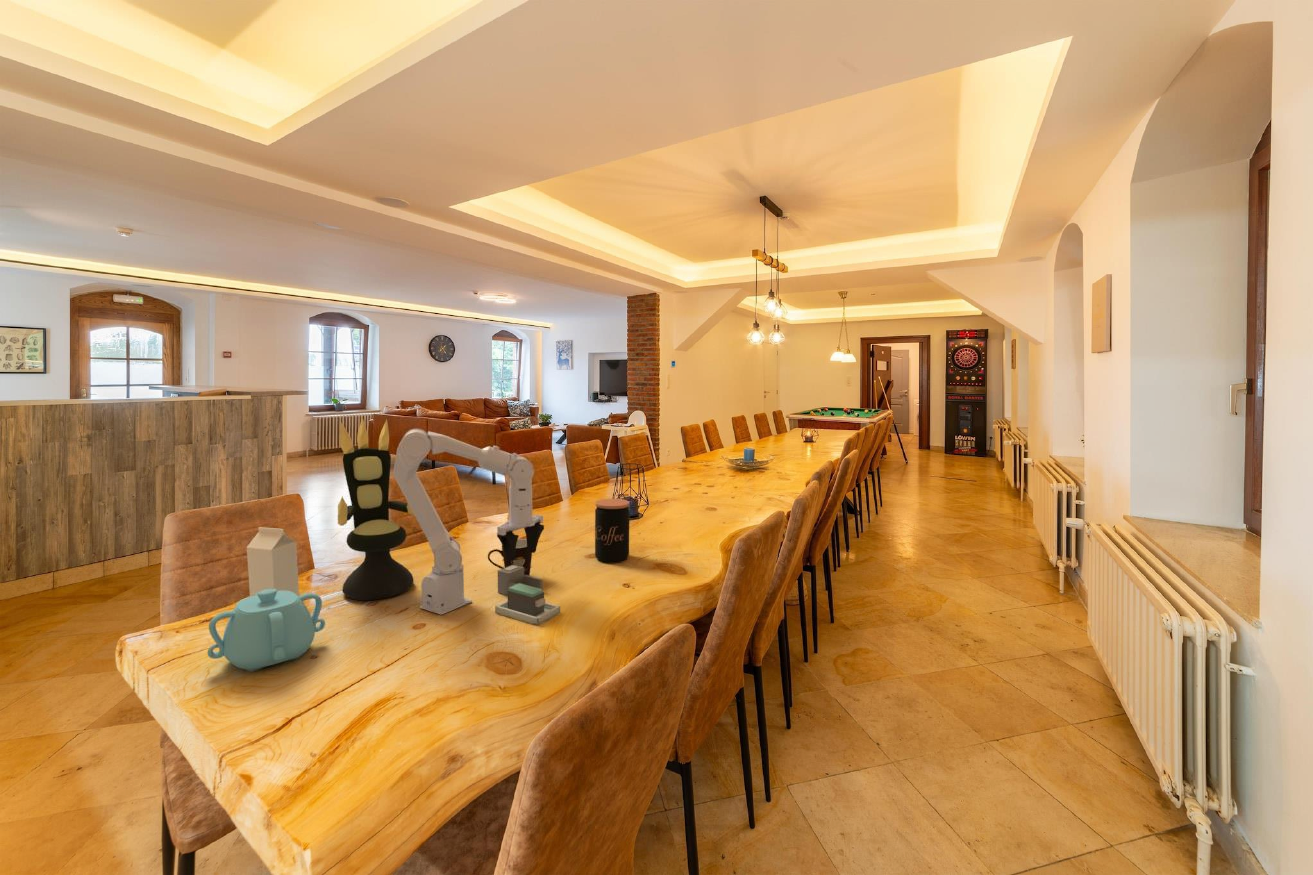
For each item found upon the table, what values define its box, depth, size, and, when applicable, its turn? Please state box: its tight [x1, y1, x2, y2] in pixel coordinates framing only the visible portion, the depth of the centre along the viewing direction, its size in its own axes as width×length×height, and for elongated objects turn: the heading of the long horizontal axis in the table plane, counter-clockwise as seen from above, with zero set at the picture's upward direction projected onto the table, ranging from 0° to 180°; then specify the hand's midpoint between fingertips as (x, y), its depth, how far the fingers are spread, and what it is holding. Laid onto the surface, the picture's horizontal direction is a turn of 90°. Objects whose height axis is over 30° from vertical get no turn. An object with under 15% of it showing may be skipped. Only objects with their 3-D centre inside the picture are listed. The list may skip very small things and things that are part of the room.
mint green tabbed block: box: [507, 583, 546, 616], centre depth 134 cm, size 4×9×6 cm, turn 60°
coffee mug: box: [487, 538, 533, 576], centre depth 157 cm, size 12×9×10 cm
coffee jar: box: [594, 498, 630, 564], centre depth 175 cm, size 11×11×18 cm
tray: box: [494, 600, 561, 626], centre depth 134 cm, size 8×13×2 cm, turn 60°
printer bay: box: [497, 565, 543, 597], centre depth 147 cm, size 7×9×6 cm
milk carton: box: [246, 526, 300, 597], centre depth 136 cm, size 7×7×19 cm
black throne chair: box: [337, 417, 415, 601], centre depth 146 cm, size 19×22×45 cm
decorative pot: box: [207, 589, 326, 672], centre depth 111 cm, size 16×16×14 cm
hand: (521, 555), depth 144 cm, fingers open, 7 cm apart
